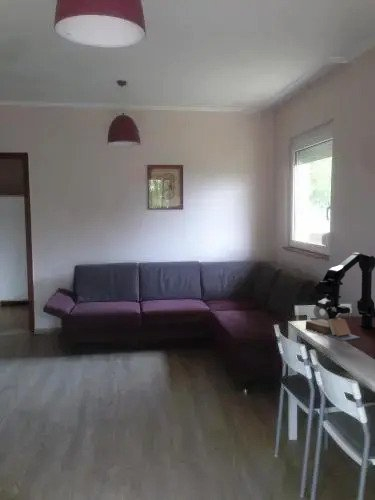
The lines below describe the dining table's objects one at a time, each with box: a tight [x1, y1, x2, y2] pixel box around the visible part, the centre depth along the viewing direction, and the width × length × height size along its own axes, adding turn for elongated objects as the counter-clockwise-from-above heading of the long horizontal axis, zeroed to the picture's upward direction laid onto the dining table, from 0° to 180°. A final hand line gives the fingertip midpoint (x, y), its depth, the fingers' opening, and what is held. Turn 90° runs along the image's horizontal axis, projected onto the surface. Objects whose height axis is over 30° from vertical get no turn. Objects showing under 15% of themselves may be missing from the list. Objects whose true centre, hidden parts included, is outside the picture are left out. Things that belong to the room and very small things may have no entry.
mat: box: [325, 333, 361, 342], centre depth 228 cm, size 12×11×1 cm
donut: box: [312, 305, 329, 320], centre depth 262 cm, size 10×4×10 cm, turn 72°
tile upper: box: [331, 318, 352, 337], centre depth 229 cm, size 8×8×2 cm
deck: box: [305, 319, 332, 336], centre depth 239 cm, size 12×14×4 cm
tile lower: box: [326, 317, 342, 335], centre depth 231 cm, size 8×8×2 cm
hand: (331, 323), depth 235 cm, fingers closed
